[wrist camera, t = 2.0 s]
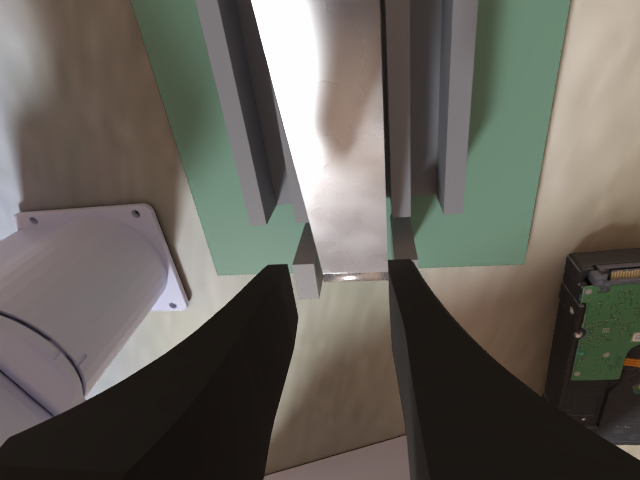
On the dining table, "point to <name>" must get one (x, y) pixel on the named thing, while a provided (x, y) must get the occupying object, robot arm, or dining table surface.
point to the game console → (356, 464)
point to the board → (399, 129)
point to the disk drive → (599, 345)
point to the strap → (333, 124)
